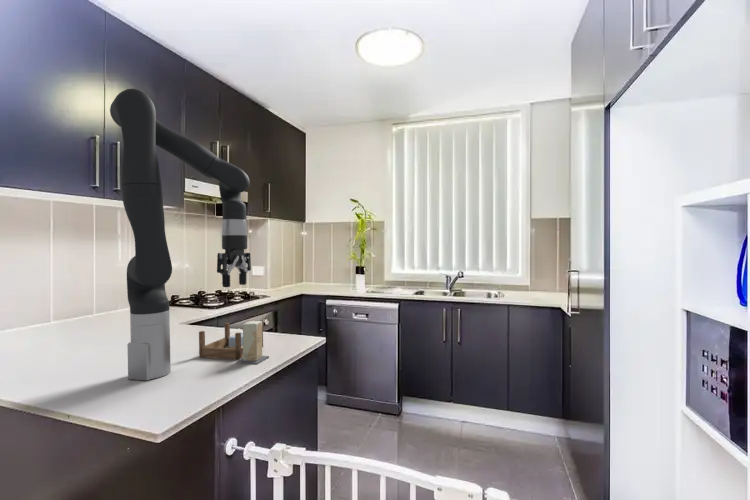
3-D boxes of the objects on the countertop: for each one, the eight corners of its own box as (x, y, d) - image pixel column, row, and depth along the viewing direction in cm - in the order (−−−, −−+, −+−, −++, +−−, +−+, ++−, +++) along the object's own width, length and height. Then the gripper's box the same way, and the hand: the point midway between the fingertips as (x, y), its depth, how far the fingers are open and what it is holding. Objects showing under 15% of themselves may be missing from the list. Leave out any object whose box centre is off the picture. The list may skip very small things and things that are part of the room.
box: (256, 361, 112) (256, 324, 112) (242, 361, 113) (241, 324, 112) (263, 356, 118) (262, 320, 117) (249, 356, 118) (248, 320, 118)
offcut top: (239, 347, 119) (239, 338, 119) (228, 346, 121) (228, 337, 121) (251, 342, 125) (250, 333, 125) (241, 341, 126) (240, 332, 126)
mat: (257, 364, 111) (257, 362, 111) (235, 362, 112) (235, 361, 112) (269, 357, 117) (269, 356, 117) (248, 356, 119) (248, 354, 119)
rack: (239, 359, 116) (238, 333, 116) (199, 357, 119) (198, 331, 119) (263, 347, 130) (262, 323, 130) (227, 345, 133) (226, 322, 133)
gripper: (231, 233, 111) (231, 288, 111) (257, 235, 125) (257, 284, 125) (209, 233, 113) (209, 287, 113) (237, 235, 127) (237, 283, 127)
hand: (234, 285), depth 119 cm, fingers open, 8 cm apart
